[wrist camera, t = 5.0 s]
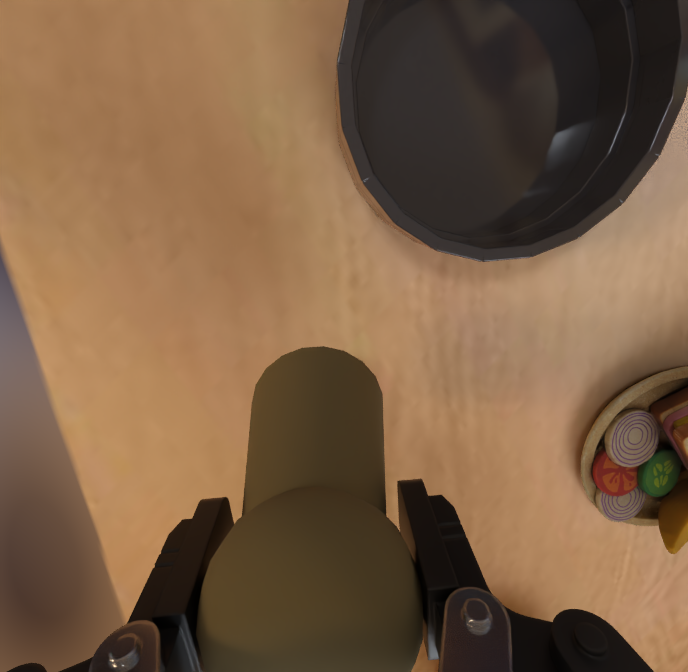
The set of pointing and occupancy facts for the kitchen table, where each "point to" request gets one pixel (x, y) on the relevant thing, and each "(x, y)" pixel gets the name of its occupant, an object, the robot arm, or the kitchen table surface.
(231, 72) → the kitchen table surface
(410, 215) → the dark grey bowl
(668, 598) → the kitchen table surface
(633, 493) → the toy sandwich meal
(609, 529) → the kitchen table surface
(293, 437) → the cork
